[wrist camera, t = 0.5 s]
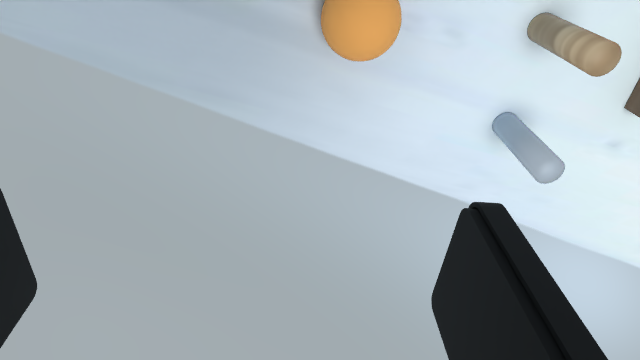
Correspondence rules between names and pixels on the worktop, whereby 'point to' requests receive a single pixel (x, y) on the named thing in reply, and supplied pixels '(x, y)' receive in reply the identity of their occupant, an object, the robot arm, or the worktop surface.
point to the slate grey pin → (528, 148)
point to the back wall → (634, 101)
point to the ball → (360, 27)
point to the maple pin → (575, 44)
